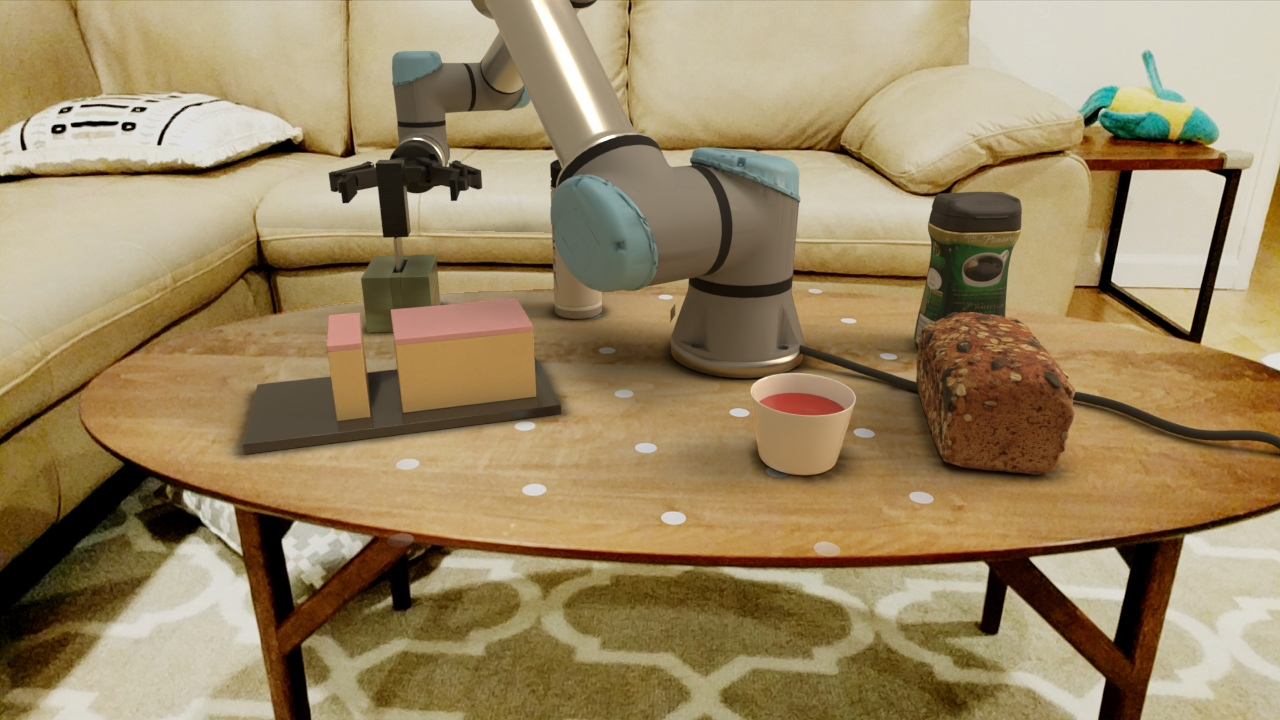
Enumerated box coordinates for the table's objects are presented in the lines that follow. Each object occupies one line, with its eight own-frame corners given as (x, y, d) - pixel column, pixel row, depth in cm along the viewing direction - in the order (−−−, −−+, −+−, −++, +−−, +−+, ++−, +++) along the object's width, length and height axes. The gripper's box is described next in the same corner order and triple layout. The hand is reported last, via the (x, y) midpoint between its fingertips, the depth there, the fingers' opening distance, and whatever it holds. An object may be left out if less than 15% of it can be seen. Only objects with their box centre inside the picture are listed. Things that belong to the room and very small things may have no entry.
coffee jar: (979, 336, 106) (1003, 184, 99) (1011, 360, 99) (1040, 198, 92) (903, 338, 105) (922, 186, 98) (929, 363, 98) (952, 200, 91)
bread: (1062, 481, 74) (1085, 373, 70) (932, 470, 75) (948, 364, 72) (1014, 392, 91) (1030, 302, 87) (909, 385, 92) (920, 295, 89)
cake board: (534, 362, 98) (534, 354, 97) (561, 414, 85) (561, 404, 85) (258, 393, 90) (257, 384, 89) (244, 454, 77) (242, 444, 77)
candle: (812, 495, 71) (819, 426, 69) (726, 458, 77) (729, 394, 75) (867, 457, 77) (875, 392, 75) (784, 425, 83) (788, 365, 81)
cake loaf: (520, 364, 95) (517, 298, 92) (536, 397, 87) (533, 325, 84) (398, 377, 91) (390, 309, 88) (402, 413, 83) (394, 339, 80)
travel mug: (608, 305, 117) (606, 155, 109) (594, 321, 111) (592, 163, 103) (563, 302, 118) (559, 153, 110) (548, 317, 112) (542, 161, 104)
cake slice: (368, 381, 90) (359, 312, 87) (370, 417, 82) (360, 342, 79) (338, 384, 89) (328, 314, 87) (337, 421, 81) (326, 346, 79)
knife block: (440, 304, 117) (436, 254, 114) (433, 330, 107) (428, 276, 105) (379, 307, 116) (373, 256, 113) (367, 332, 106) (360, 278, 104)
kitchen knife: (419, 312, 114) (404, 158, 106) (415, 323, 110) (400, 164, 102) (396, 313, 113) (379, 158, 106) (391, 324, 109) (374, 164, 102)
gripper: (502, 187, 133) (499, 218, 114) (335, 190, 130) (302, 222, 111) (499, 137, 130) (495, 160, 111) (328, 140, 127) (293, 163, 108)
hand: (398, 191), depth 111 cm, fingers open, 13 cm apart
